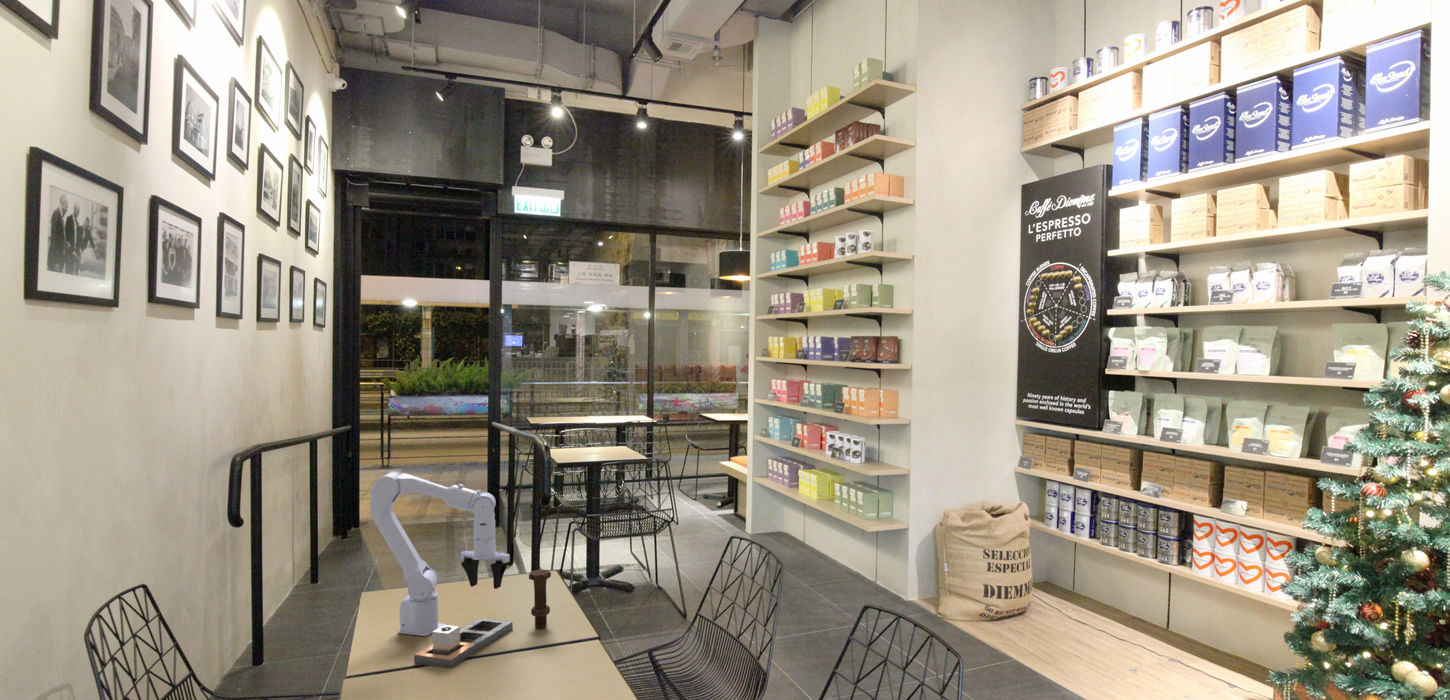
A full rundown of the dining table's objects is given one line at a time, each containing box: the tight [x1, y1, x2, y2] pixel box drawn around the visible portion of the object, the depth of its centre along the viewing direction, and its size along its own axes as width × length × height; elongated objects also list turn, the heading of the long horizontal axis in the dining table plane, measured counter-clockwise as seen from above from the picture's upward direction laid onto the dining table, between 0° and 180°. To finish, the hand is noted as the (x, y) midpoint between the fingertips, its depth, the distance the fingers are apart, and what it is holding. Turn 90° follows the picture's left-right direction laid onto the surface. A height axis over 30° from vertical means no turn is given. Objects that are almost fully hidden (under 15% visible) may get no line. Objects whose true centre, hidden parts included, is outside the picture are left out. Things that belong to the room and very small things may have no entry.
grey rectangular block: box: [432, 624, 461, 656], centre depth 180 cm, size 4×4×7 cm
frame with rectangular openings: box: [413, 617, 514, 669], centre depth 187 cm, size 10×26×2 cm, turn 163°
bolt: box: [528, 569, 552, 629], centre depth 199 cm, size 6×5×15 cm
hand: (485, 586), depth 202 cm, fingers open, 7 cm apart
